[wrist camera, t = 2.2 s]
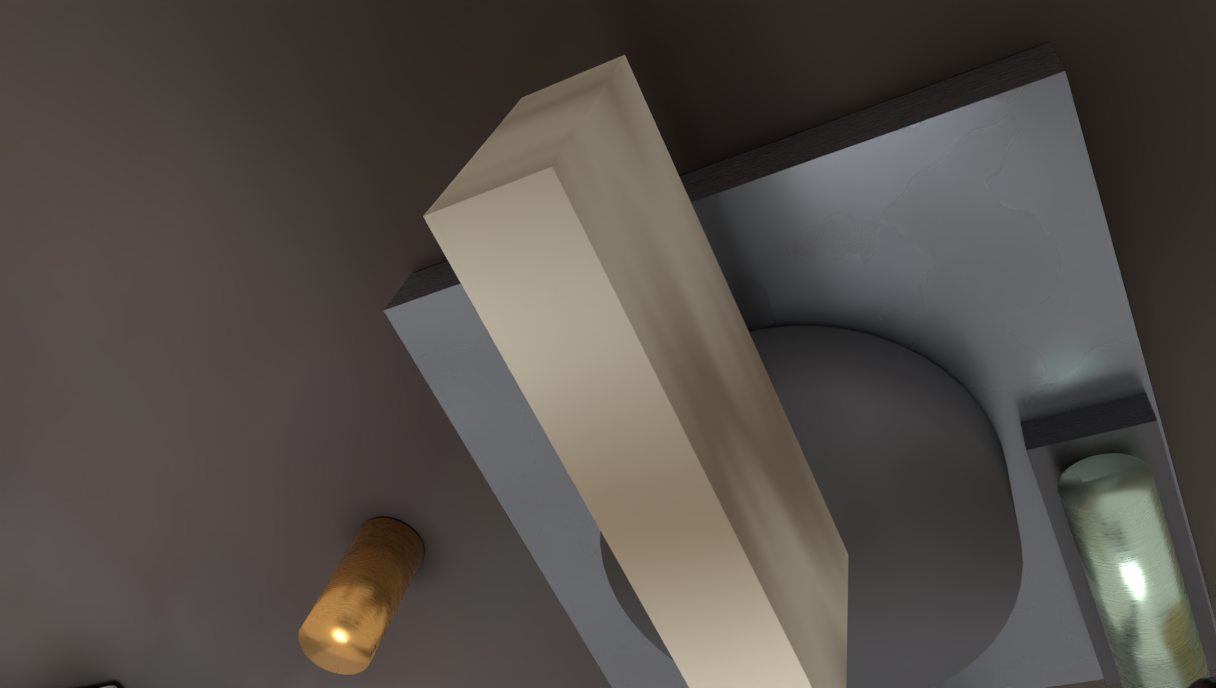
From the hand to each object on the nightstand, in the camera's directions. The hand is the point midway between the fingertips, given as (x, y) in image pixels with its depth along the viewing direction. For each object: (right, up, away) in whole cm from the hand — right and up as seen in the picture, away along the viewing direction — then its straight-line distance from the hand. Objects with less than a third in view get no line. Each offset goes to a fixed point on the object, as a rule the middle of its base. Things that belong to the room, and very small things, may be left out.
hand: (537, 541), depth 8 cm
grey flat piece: (+2, -1, +15) cm, 15 cm away
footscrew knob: (+3, +1, +11) cm, 12 cm away
